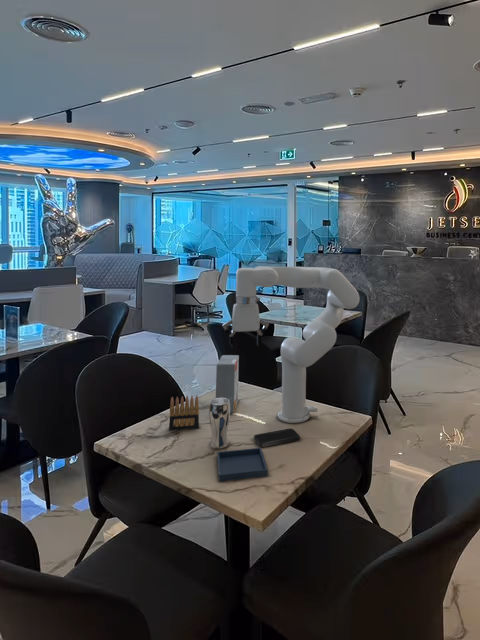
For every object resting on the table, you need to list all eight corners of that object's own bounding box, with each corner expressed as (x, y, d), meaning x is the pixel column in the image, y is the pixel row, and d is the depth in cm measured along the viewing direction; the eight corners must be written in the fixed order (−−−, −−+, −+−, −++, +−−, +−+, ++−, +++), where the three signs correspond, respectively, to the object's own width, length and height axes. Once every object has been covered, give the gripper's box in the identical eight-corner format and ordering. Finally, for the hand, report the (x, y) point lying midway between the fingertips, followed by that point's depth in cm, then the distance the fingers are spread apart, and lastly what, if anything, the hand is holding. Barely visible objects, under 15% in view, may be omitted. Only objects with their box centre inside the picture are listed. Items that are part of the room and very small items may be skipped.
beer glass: (231, 440, 153) (232, 397, 153) (226, 450, 146) (227, 405, 146) (212, 439, 154) (213, 396, 154) (206, 449, 147) (206, 404, 147)
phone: (300, 436, 154) (260, 444, 148) (300, 440, 154) (260, 447, 148) (292, 427, 161) (253, 434, 155) (292, 431, 161) (253, 437, 155)
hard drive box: (234, 414, 176) (234, 364, 176) (214, 414, 176) (215, 364, 176) (238, 400, 192) (239, 354, 192) (220, 400, 192) (221, 354, 192)
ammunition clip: (198, 426, 165) (199, 394, 165) (198, 428, 163) (199, 395, 163) (169, 428, 162) (169, 396, 162) (168, 430, 160) (169, 397, 160)
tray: (260, 453, 144) (261, 447, 144) (267, 475, 130) (267, 469, 130) (217, 457, 141) (217, 451, 141) (219, 481, 127) (219, 475, 127)
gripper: (267, 298, 171) (266, 342, 171) (222, 299, 166) (221, 344, 166) (270, 301, 163) (269, 347, 163) (223, 302, 159) (222, 349, 159)
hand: (245, 346), depth 165 cm, fingers open, 9 cm apart
